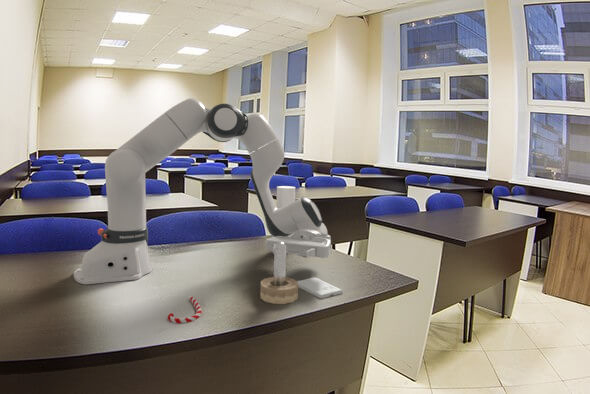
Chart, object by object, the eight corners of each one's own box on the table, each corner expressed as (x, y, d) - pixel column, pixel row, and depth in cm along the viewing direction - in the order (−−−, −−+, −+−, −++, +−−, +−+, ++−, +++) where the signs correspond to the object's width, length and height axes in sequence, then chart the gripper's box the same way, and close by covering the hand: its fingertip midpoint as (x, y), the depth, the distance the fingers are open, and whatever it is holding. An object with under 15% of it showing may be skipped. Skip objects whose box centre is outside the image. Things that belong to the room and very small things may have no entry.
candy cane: (203, 295, 113) (199, 319, 98) (203, 300, 113) (199, 324, 98) (174, 296, 112) (165, 320, 97) (174, 301, 112) (165, 325, 97)
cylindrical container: (291, 253, 160) (293, 188, 157) (273, 251, 162) (274, 187, 158) (294, 248, 167) (297, 186, 164) (277, 247, 169) (279, 185, 165)
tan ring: (273, 306, 109) (273, 292, 108) (253, 294, 117) (254, 280, 117) (304, 299, 115) (305, 285, 114) (284, 287, 123) (284, 274, 123)
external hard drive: (315, 282, 131) (342, 294, 121) (294, 286, 126) (320, 300, 116) (315, 277, 130) (342, 289, 120) (294, 281, 126) (320, 294, 116)
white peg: (277, 299, 114) (278, 244, 112) (271, 296, 116) (272, 241, 114) (287, 297, 116) (288, 242, 113) (280, 293, 118) (282, 240, 116)
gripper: (274, 229, 137) (257, 238, 124) (335, 235, 131) (323, 246, 118) (274, 248, 138) (256, 259, 125) (334, 255, 132) (322, 267, 119)
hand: (289, 252), depth 121 cm, fingers open, 8 cm apart
